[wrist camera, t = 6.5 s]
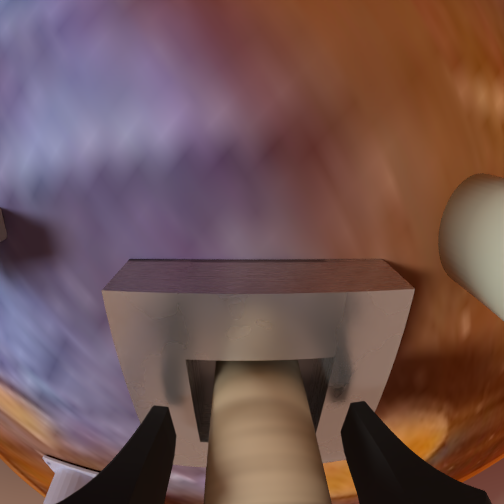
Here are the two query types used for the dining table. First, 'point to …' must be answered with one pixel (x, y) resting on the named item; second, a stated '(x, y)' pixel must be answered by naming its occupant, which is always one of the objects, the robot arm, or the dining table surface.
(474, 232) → the pale green rounded block
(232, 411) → the oak peg
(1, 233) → the lighter
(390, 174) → the dining table surface
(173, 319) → the beige square frame
